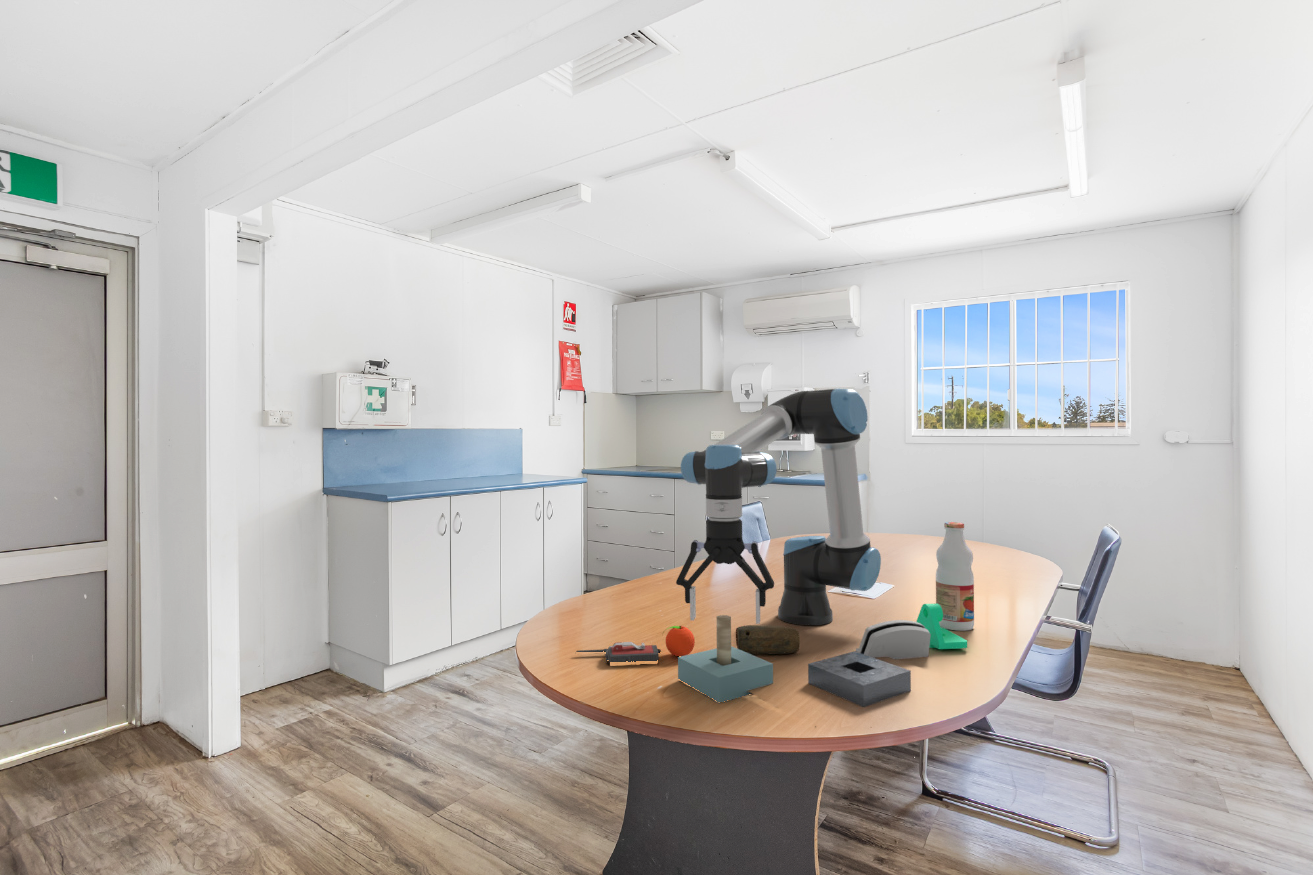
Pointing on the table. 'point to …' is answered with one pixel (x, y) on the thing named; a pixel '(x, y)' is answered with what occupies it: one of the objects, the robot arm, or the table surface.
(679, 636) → the clementine
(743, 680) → the socket block
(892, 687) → the mount block
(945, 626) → the fruit juice
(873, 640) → the grey rounded slab
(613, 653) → the walkie-talkie
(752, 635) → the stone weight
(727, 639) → the pin
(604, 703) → the table surface
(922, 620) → the camera mount
